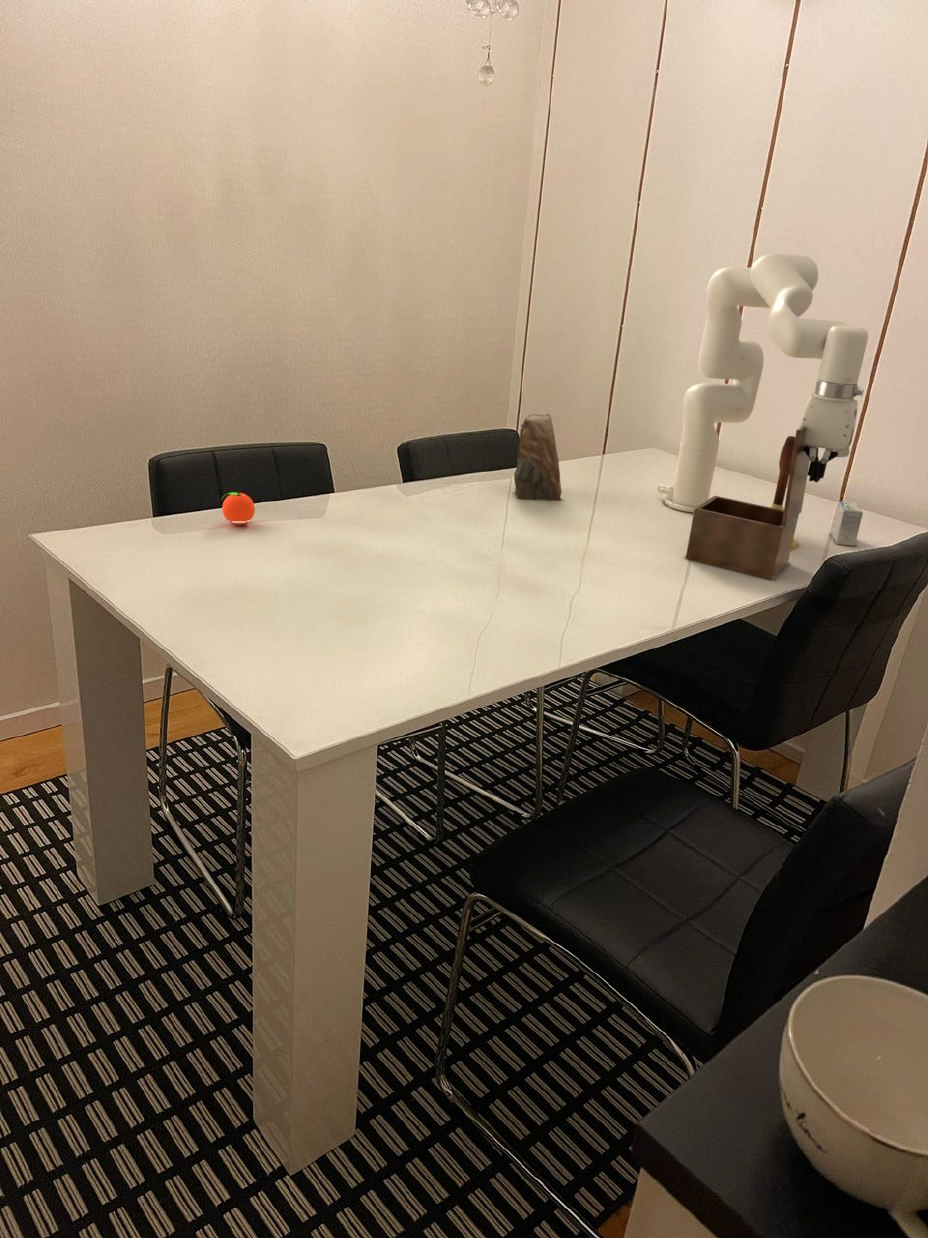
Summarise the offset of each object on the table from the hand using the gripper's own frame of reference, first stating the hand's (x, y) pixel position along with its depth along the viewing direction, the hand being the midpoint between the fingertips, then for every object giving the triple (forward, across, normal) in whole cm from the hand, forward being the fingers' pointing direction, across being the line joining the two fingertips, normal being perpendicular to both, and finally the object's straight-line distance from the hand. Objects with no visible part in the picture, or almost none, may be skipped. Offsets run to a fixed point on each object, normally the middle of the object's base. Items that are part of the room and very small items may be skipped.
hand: (814, 480), depth 193 cm
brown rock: (+21, +69, -13) cm, 74 cm away
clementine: (+21, +108, +56) cm, 123 cm away
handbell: (+21, +10, -20) cm, 31 cm away
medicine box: (+21, -4, -34) cm, 40 cm away
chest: (+21, +12, 0) cm, 24 cm away
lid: (-1, +4, 0) cm, 4 cm away
